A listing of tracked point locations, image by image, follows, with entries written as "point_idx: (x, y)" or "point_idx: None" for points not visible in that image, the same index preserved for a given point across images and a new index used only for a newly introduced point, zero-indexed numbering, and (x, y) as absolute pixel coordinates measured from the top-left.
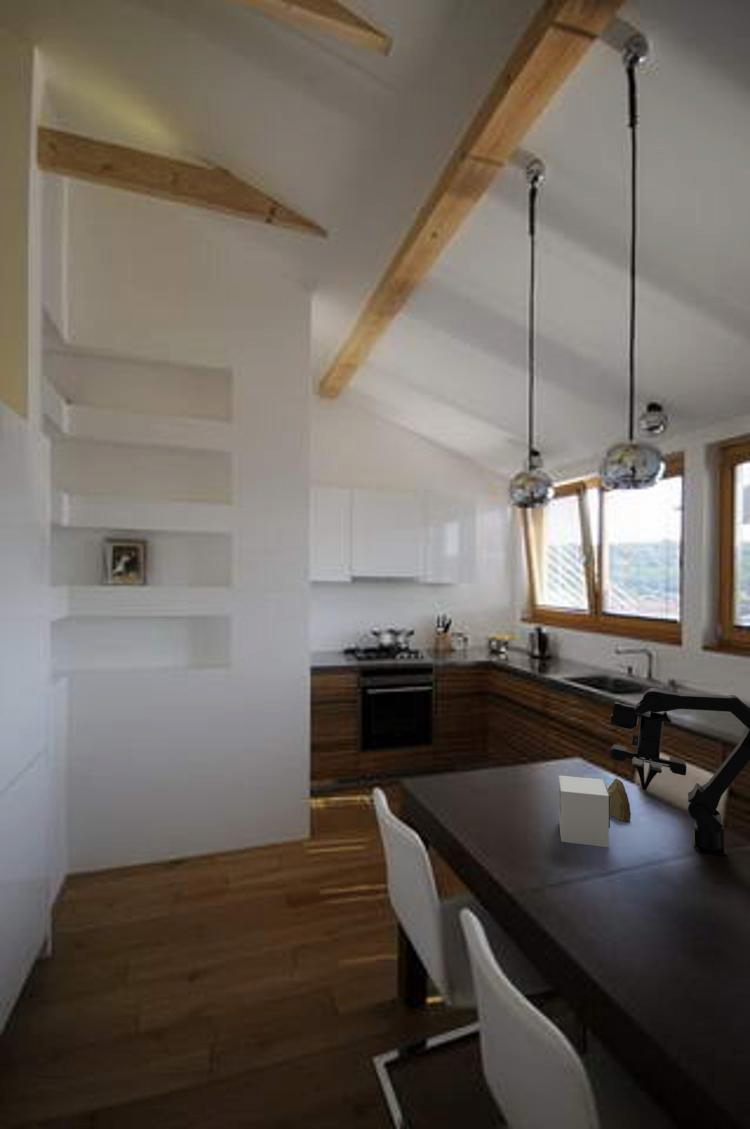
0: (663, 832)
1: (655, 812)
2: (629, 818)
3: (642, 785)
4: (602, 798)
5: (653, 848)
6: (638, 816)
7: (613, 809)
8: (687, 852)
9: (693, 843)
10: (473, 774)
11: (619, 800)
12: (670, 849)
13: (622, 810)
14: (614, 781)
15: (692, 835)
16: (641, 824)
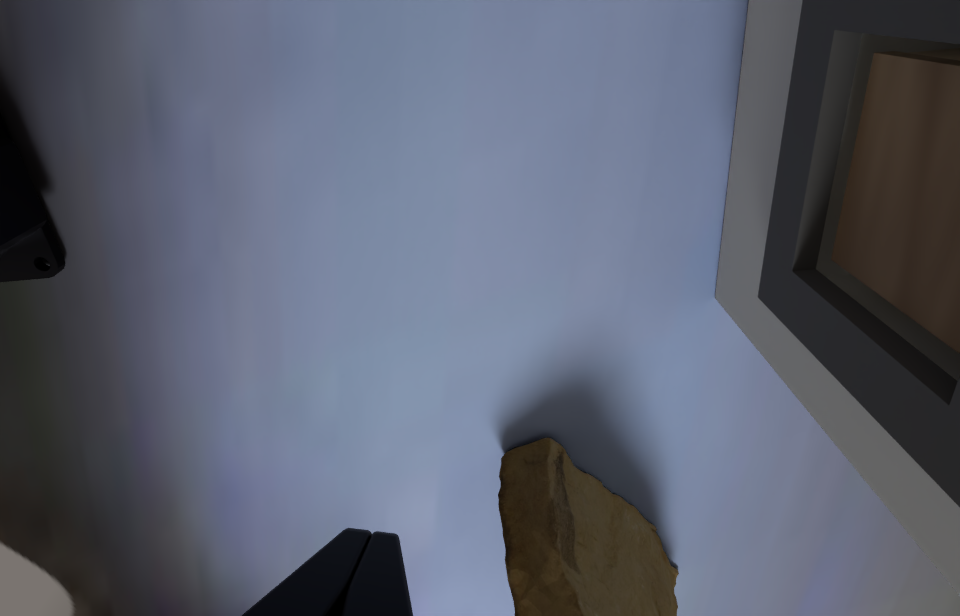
0: (283, 360)
1: None
2: (506, 465)
3: (388, 590)
4: None
5: (354, 13)
6: (441, 535)
7: (609, 531)
8: (75, 40)
9: (30, 185)
10: None
11: (584, 589)
12: (214, 50)
13: (560, 504)
14: None
15: (6, 232)
16: (429, 433)
